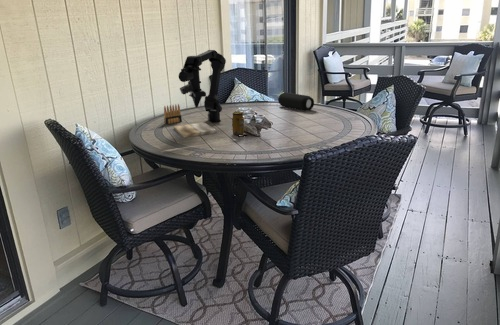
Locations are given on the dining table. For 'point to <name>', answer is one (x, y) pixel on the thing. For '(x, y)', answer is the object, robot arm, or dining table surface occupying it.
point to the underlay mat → (185, 137)
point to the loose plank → (203, 128)
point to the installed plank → (186, 131)
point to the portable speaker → (296, 101)
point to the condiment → (238, 123)
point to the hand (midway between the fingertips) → (196, 107)
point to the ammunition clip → (172, 115)
